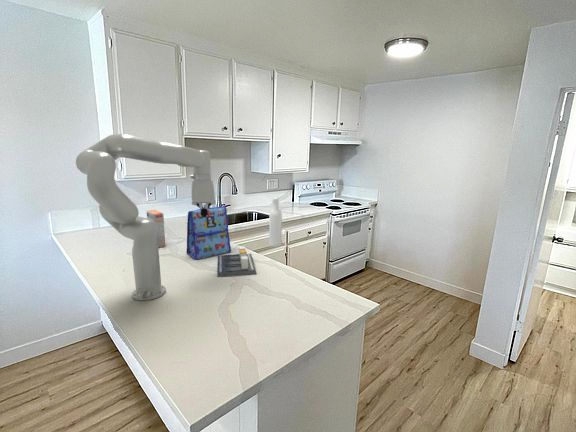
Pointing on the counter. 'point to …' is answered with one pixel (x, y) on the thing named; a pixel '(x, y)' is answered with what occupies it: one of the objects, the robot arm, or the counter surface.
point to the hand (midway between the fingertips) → (204, 216)
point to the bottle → (275, 225)
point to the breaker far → (241, 248)
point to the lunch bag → (207, 233)
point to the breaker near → (244, 262)
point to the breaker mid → (243, 253)
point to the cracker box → (159, 220)
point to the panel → (234, 266)
